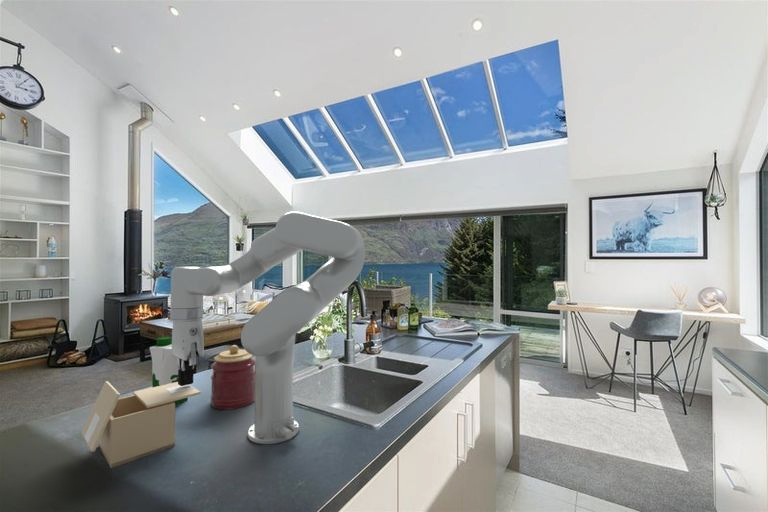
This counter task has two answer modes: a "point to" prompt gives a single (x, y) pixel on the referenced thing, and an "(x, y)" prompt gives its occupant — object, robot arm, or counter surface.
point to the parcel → (137, 431)
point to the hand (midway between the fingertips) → (185, 384)
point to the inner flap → (165, 394)
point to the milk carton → (164, 364)
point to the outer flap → (100, 415)
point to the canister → (233, 379)
